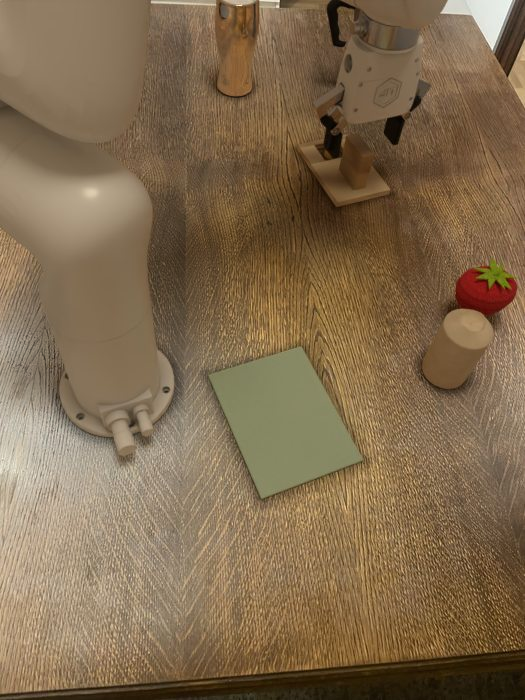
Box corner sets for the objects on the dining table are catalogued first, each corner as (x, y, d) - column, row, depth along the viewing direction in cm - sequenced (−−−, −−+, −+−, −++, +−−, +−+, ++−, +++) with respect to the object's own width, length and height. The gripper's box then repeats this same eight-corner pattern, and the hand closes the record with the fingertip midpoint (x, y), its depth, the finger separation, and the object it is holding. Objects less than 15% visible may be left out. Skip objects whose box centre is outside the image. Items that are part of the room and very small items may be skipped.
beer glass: (262, 84, 105) (269, -7, 92) (240, 103, 101) (244, 10, 89) (229, 70, 106) (232, -21, 94) (206, 88, 103) (205, -5, 91)
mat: (362, 461, 66) (363, 459, 65) (261, 500, 62) (261, 498, 62) (301, 347, 74) (301, 345, 73) (207, 376, 70) (207, 374, 70)
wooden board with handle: (296, 149, 95) (302, 109, 90) (346, 138, 98) (355, 99, 92) (336, 207, 88) (345, 168, 83) (389, 194, 91) (401, 155, 85)
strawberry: (436, 299, 80) (462, 245, 71) (490, 297, 81) (522, 243, 72) (449, 335, 76) (477, 283, 68) (505, 333, 77) (540, 281, 69)
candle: (456, 397, 71) (488, 349, 63) (414, 375, 72) (440, 325, 64) (472, 365, 74) (505, 315, 66) (431, 344, 75) (459, 292, 67)
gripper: (339, 54, 68) (318, 175, 82) (466, 31, 73) (425, 150, 87) (311, 20, 72) (295, 142, 86) (433, 1, 77) (399, 119, 91)
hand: (361, 146), depth 86 cm, fingers open, 9 cm apart
